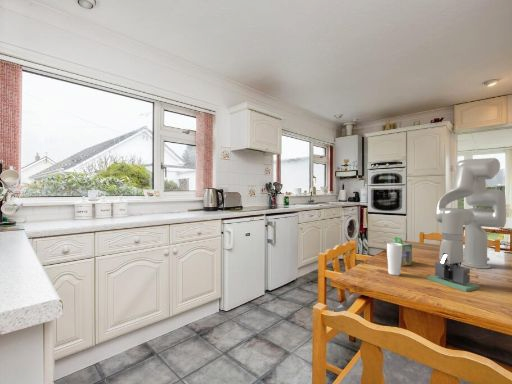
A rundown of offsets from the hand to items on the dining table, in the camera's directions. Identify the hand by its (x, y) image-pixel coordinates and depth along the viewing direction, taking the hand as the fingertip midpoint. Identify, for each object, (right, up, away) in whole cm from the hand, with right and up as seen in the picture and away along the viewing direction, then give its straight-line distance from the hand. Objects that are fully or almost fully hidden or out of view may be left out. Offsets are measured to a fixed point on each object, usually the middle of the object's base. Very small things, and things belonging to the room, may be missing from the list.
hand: (451, 277), depth 116 cm
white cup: (-19, -3, +12) cm, 23 cm away
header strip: (0, -3, 0) cm, 3 cm away
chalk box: (-6, -2, +31) cm, 32 cm away
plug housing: (+1, -1, -2) cm, 2 cm away
